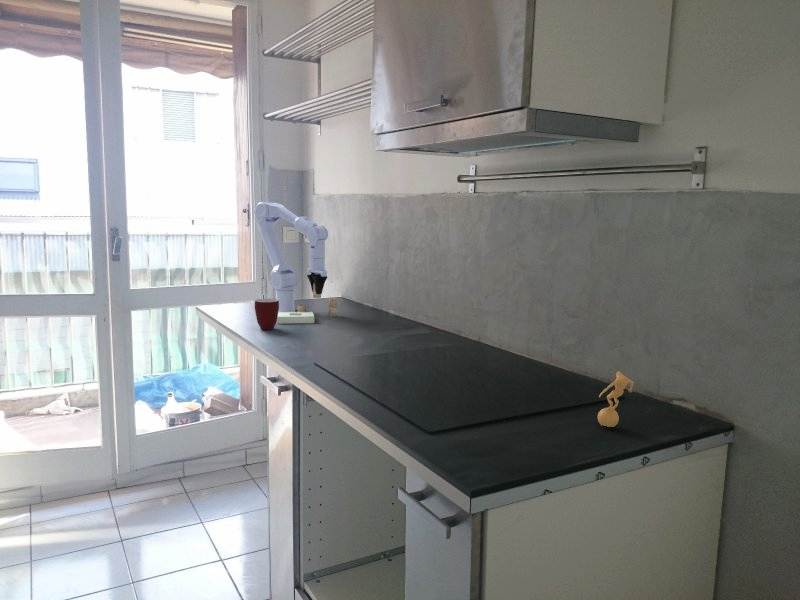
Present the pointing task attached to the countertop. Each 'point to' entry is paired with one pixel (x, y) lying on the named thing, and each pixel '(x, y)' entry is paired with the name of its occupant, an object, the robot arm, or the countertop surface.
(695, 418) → the countertop surface
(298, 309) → the dowel short
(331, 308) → the dowel long
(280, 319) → the board
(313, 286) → the dowel medium
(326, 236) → the robot arm
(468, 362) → the countertop surface
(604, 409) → the figurine
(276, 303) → the mug
